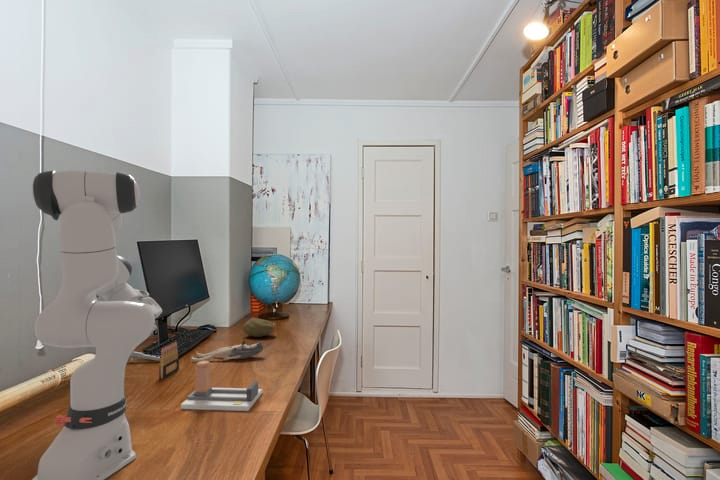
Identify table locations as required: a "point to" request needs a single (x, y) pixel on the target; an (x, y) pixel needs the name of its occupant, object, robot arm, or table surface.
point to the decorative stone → (258, 327)
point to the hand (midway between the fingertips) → (153, 330)
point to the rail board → (225, 399)
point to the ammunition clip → (168, 361)
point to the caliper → (142, 356)
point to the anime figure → (233, 352)
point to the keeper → (203, 379)
